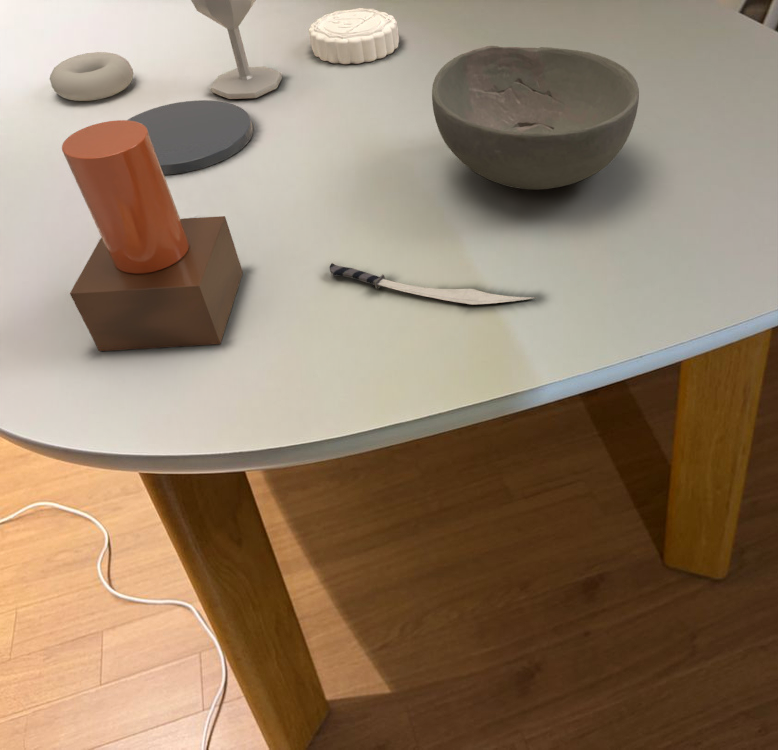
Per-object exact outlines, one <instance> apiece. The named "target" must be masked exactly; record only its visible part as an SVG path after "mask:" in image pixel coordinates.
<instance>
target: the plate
mask: <svg viewBox="0 0 778 750" xmlns="http://www.w3.org/2000/svg"><path fill="white" fill-rule="evenodd" d="M127 120H128V121H135V122H139V123H141V124H143V125H144V126H145V127H146V128H147V130H148V133H149V135H150V138H151V141H152V144H153V146H154V149H155V152H156V154H157V157H158V160H159V163H160V165H161V168H162V171H163V174H164V176H166V175H178V174H183V173H189V172H193V171H197V170H202V169H205V168H208V167H211V166H213V165H216V164H219V163H221V162H223V161H225V160H227V159H229V158H231V157H232V156H234V155H236V154H237V153H239V152H240V151H241V150H242V149H243V148H245V147H246V145H247V144H248V143H249V142H250V141H251V138H252V136H253V132H254V127H253V123H252V119H251V116H250V115H249V113H248V112H247V111H246V110H245V109H244V108H243V107H240V106H238V105H236V104H234V103H230V102H226V101H221V100H206V99H204V100H201V99H200V100H199V99H198V100H186V101H180V102H179V101H178V102H173V103H169V104H163V105H160V106H157V107H154V108H149V109H147V110H145V111H143V112H139V113H137V114H136V115H134V116H132V117H130V118H128V119H127Z"/></svg>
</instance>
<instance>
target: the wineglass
mask: <svg viewBox="0 0 778 750" xmlns="http://www.w3.org/2000/svg"><path fill="white" fill-rule="evenodd" d="M190 1H191V3H192V5H193V6H194V8H195V10H196V12H198V13H200V14H202V15H203V16H205V17H207V18H208V19H210V20H212V21H213V22H215V23H216V24H218V25H220V26H222V27H224V28H225V29H227V33H228V37H229V41H230V45H231V48H232V52H233V57H234V60H235V63H236V68H234V69H232V70H229V71H227V72H225V73H222V74H219V75H218V76H217V77H216V79H215V80H214V82H213V83H212V85H211V86H210V91H211V93H213V94H216V95H217V96H220V97H223V98H226V99H228V100H238V99H239V100H240V99H257V98H260V97H261V96H263V95H266V94H268V93H270V92H272V91H274V90H276V89H277V88H278V86H279V85H280V83H281V80H282V79H283V73H282V71H278V70H275V69H273V68H270V67H267V66H249V62H248V58H247V55H246V51H245V47H244V42H243V39H242V35H241V32H240V25H241V24H242V22H243V21H244V19H245V18H246V16H247V15H248V13H249V12H250V10H251V9H252V7H253V5H255V3H256V1H257V0H190Z"/></svg>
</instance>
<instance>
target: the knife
mask: <svg viewBox="0 0 778 750" xmlns="http://www.w3.org/2000/svg"><path fill="white" fill-rule="evenodd" d="M329 272H330V274H332V276H337V277H345V278H346V277H347V278H351V279H355V280H358V281H361V282H364V283H368V284H370V285H374V288H375V289H376V290H378V289H379V288H381V287H383V288H388V289H391V290H396V291H400V292H404V293H408V294H411V295H412V294H413V295H417V296H422V297H427V298H431V299H437V300H443V301H447V302H448V301H449V302H453V303H460V304H467V305H472V306H473V305H490V304H499V303H509V302H517V301H525V300H531V299H536V298H537V296H536V297H533V296H532V297H530V296H528V297H526V296H512V295H502V294H495V293H491V292H490V293H489V292H485V291H481V290H478V289H475V288H435V287H425V286H419V285H418V286H417V285H412V284H407V283H401V282H397V281H393V280H389V279H387V278H386V277H385V274H381V275H380V276H379V275H375V274H372V273H369V272H365V271H362V270H359V269H355V268H352V267H347V266H341V265H336V264H334V263H333V262H331V263H330V264H329Z"/></svg>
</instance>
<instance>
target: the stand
mask: <svg viewBox="0 0 778 750" xmlns="http://www.w3.org/2000/svg"><path fill="white" fill-rule="evenodd" d="M180 220H181V223H182V225H183V228H184V231H185V233H186V236H187V239H188V242H189V248H188V251H187V252H186V254H185V255H184V256H183V257H182V258H181V259H180V260H179V261H177V262H176V263H174V264H173V265H171V266H169V267H166V268H164V269H161V270H158V271H155V272H150V273H143V274H132V273H126V272H123V271H121V270H119V269H118V268H116V267H115V265H114V264H113V261H112V259H111V257H110V255H109V253H108V250H107V248H106V246H105V244H104V242H103V239H102V237H101V236H100V239H99V241H98V242H97V244H96V246H95V247H94V249H93V251H92V253H91V255H90V257H89V258H88V260H87V262H86V264H85V266H84V267H83V269H82V271H81V272H80V274H79V276H78V278H77V279H76V282H75V283H74V285H73V286H72V289H71V290H70V292H69V295H70V297H71V299H72V301H73V303H74V304H75V307H76V310H77V311H78V313H79V315H80V317H81V319H82V321H83V322H84V324H85V326H86V328H87V330H88V332H89V334H90V336H91V338H92V340H93V342H94V344H95V346H96V348H97V350H98V351H99V352H107V351H108V352H110V351H123V350H124V351H125V350H142V349H157V348H161V349H162V348H173V347H175V348H176V347H193V346H208V345H221V343H222V340H223V338H224V334H225V330H226V328H227V326H228V325H227V324H228V321H229V319H230V315H231V312H232V308H233V305H234V302H235V299H236V295H237V293H238V290H239V286H240V283H241V279H242V277H243V274H244V271H243V268H242V265H241V262H240V261H241V260H240V259H239V255H238V252H237V249H236V246H235V242H234V240H233V236H232V234H231V231H230V226H229V224H228V220H227V218H226V215H221V216H220V215H219V216H204V217H187V218H186V217H185V218H180Z"/></svg>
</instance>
